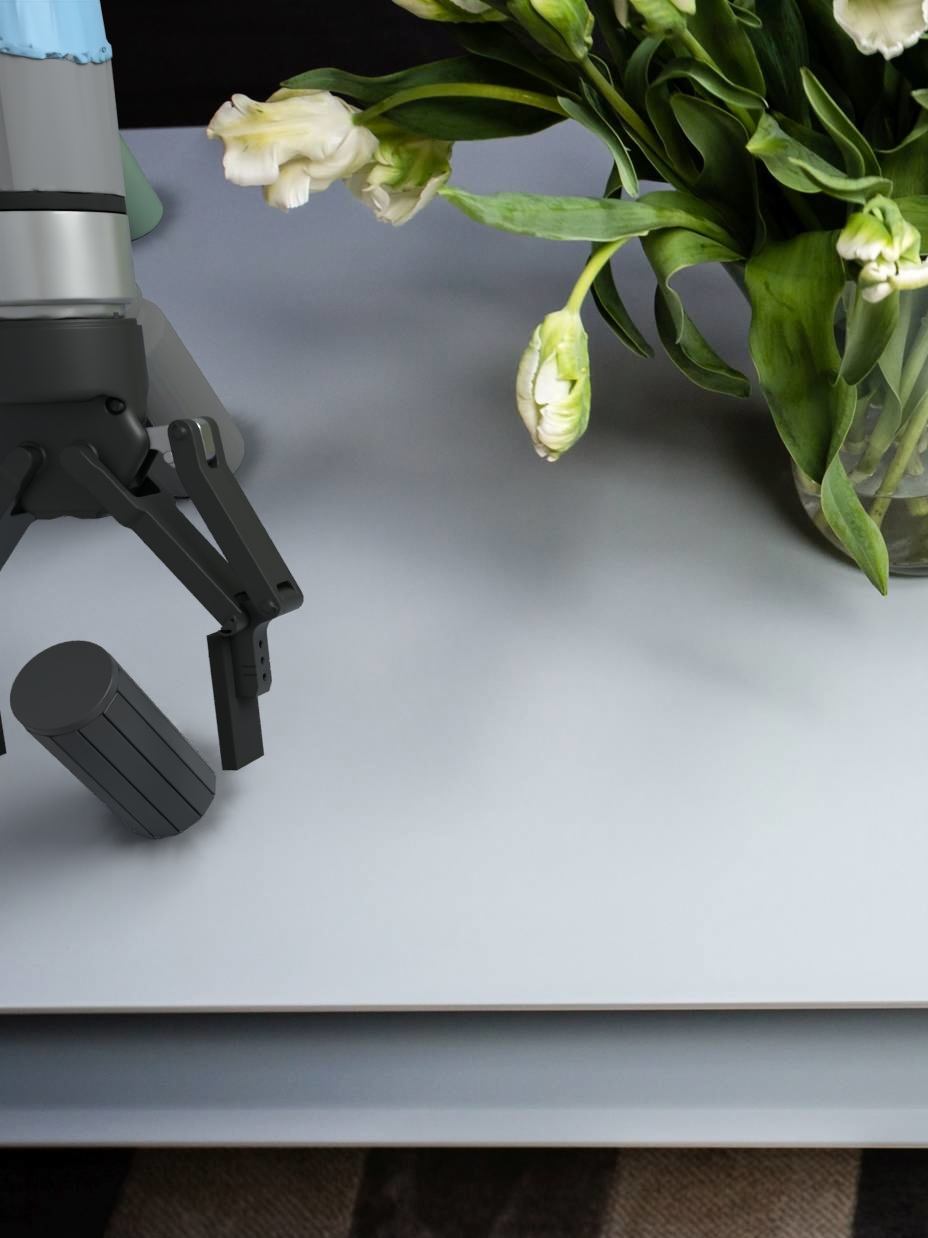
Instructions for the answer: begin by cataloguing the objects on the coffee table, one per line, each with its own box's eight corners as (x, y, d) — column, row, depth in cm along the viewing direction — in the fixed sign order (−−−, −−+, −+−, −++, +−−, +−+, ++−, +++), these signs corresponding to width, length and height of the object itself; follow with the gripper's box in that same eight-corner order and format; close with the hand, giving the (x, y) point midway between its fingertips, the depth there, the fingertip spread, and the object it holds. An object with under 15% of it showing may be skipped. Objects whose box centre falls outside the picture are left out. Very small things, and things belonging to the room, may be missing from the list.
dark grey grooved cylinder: (105, 824, 84) (-12, 715, 75) (155, 744, 86) (47, 629, 77) (184, 848, 83) (75, 740, 74) (233, 766, 85) (133, 652, 76)
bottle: (261, 465, 96) (141, 277, 84) (170, 514, 95) (35, 332, 82) (224, 407, 99) (103, 217, 86) (135, 454, 98) (0, 269, 85)
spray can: (83, 237, 109) (-29, 67, 98) (120, 190, 111) (15, 19, 100) (140, 247, 108) (33, 77, 96) (176, 200, 110) (76, 28, 99)
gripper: (346, 306, 76) (387, 742, 81) (-140, 320, 80) (-73, 740, 84) (271, 306, 69) (321, 786, 74) (-260, 322, 72) (-179, 781, 77)
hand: (111, 762), depth 79 cm, fingers open, 13 cm apart
